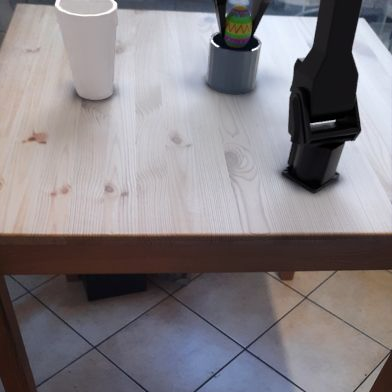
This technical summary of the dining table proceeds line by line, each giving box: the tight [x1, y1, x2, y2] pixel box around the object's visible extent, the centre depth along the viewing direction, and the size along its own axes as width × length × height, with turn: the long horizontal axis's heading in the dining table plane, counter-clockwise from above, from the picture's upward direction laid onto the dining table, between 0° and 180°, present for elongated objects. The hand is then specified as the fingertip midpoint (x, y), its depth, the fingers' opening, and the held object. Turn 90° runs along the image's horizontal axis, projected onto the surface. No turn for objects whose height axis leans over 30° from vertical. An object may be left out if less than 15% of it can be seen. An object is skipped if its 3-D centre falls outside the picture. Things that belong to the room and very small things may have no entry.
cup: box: [206, 31, 263, 95], centre depth 87 cm, size 9×9×7 cm
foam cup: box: [54, 0, 119, 101], centre depth 80 cm, size 10×9×13 cm
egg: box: [224, 3, 252, 48], centre depth 82 cm, size 5×5×6 cm
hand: (236, 36), depth 84 cm, fingers closed on egg, 5 cm apart
